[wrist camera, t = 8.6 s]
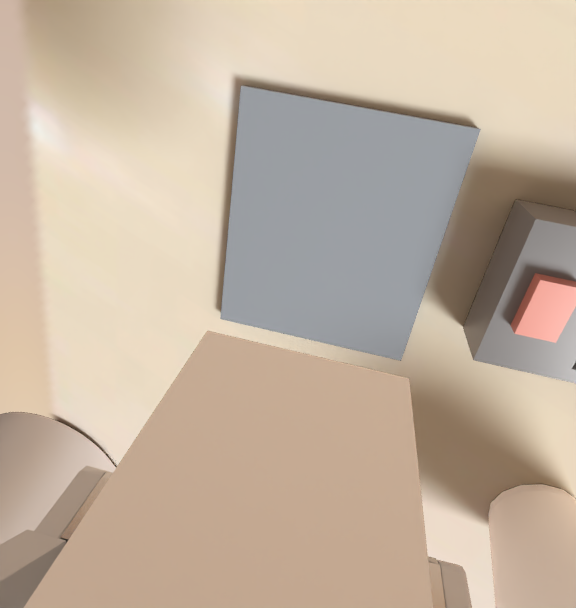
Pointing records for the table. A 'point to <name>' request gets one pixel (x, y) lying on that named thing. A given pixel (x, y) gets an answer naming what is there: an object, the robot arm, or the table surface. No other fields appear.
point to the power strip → (506, 286)
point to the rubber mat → (337, 218)
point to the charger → (257, 493)
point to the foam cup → (533, 547)
